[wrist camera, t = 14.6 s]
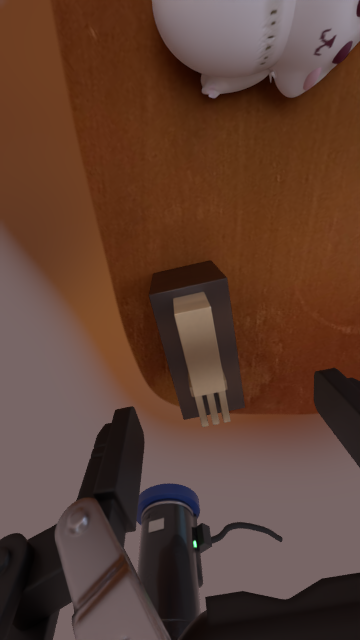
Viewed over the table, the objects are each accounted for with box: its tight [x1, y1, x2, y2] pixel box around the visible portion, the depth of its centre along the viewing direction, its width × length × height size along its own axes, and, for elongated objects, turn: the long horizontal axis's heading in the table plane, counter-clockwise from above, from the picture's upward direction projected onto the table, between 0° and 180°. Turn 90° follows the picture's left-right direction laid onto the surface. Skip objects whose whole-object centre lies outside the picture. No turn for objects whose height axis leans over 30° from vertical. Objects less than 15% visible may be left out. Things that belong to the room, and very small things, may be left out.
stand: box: [149, 261, 245, 420], centre depth 24 cm, size 13×6×7 cm, turn 12°
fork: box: [173, 292, 230, 427], centre depth 20 cm, size 12×3×3 cm, turn 12°
